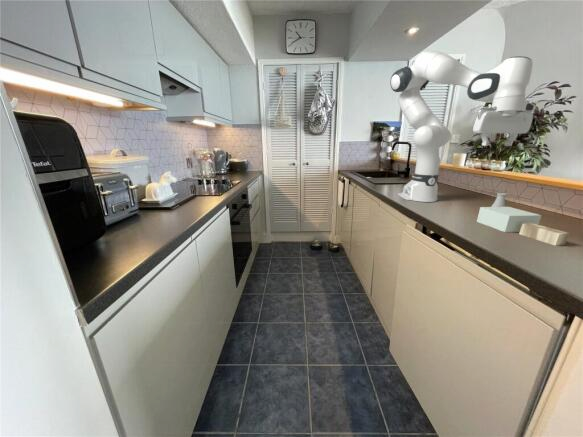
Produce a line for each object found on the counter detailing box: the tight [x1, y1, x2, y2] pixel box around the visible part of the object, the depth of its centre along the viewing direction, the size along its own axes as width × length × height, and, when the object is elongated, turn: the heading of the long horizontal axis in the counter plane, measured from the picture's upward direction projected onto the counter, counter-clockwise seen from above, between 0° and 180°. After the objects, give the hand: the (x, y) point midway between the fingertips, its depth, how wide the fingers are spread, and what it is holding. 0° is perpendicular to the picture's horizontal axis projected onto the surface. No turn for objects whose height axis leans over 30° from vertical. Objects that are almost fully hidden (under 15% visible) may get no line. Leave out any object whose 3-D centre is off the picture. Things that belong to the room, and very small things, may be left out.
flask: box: [490, 192, 508, 207], centre depth 100 cm, size 7×7×10 cm
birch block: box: [518, 223, 570, 246], centre depth 76 cm, size 4×4×10 cm
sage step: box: [476, 206, 542, 233], centre depth 88 cm, size 12×12×6 cm
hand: (496, 145), depth 91 cm, fingers open, 8 cm apart
